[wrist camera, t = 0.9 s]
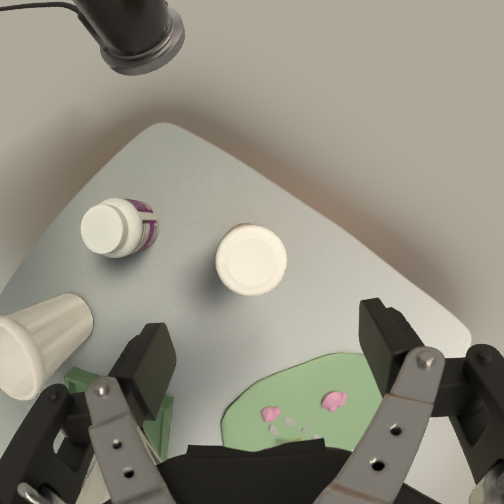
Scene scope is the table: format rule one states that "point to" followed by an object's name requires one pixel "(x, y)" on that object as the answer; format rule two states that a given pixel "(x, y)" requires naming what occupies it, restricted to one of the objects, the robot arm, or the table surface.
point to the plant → (305, 405)
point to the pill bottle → (119, 227)
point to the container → (94, 488)
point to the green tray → (155, 429)
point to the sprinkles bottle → (251, 260)
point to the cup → (40, 342)
